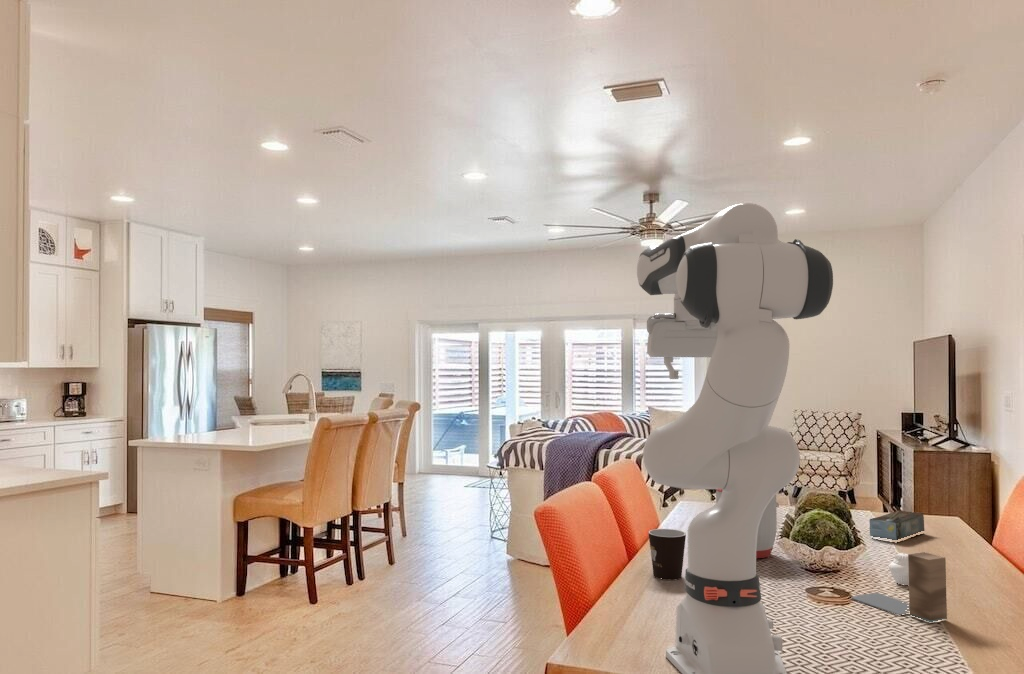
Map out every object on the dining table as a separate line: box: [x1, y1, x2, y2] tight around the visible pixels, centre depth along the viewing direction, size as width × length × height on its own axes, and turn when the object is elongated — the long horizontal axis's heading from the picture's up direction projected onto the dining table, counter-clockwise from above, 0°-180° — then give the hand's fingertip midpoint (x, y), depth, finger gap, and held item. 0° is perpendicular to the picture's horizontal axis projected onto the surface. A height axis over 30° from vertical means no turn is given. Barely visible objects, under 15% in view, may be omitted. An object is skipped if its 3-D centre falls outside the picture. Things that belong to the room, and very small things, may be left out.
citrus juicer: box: [714, 489, 780, 559], centre depth 191 cm, size 16×17×20 cm
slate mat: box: [850, 592, 909, 615], centre depth 150 cm, size 12×8×1 cm, turn 23°
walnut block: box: [907, 551, 948, 622], centre depth 142 cm, size 4×4×12 cm
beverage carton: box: [869, 510, 925, 540], centre depth 212 cm, size 8×19×7 cm, turn 129°
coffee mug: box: [648, 528, 687, 580], centre depth 172 cm, size 12×9×10 cm
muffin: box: [888, 552, 909, 585], centre depth 164 cm, size 6×6×7 cm
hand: (695, 379), depth 153 cm, fingers open, 8 cm apart
